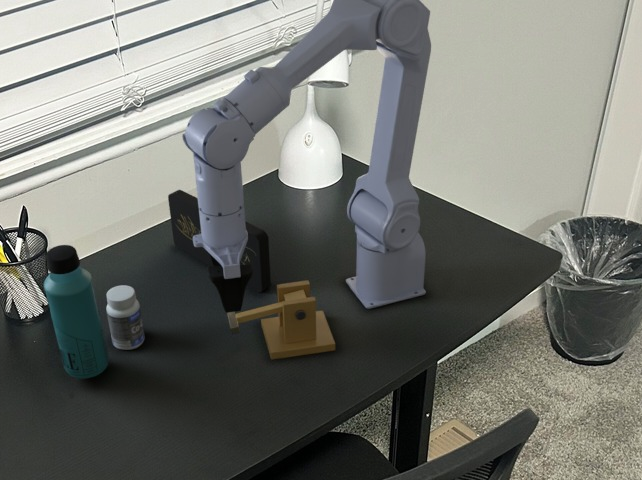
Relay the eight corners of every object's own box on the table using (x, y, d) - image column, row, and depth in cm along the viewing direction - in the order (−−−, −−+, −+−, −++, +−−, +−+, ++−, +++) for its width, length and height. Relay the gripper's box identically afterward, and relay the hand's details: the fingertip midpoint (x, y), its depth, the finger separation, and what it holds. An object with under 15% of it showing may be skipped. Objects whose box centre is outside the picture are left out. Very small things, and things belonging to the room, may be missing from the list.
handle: (233, 338, 125) (229, 324, 123) (228, 317, 129) (224, 303, 127) (311, 318, 124) (308, 304, 123) (304, 297, 128) (301, 283, 126)
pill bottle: (140, 351, 130) (132, 303, 125) (108, 350, 131) (99, 302, 125) (148, 331, 133) (141, 283, 128) (117, 330, 134) (108, 282, 129)
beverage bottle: (118, 361, 128) (95, 239, 116) (99, 392, 124) (73, 267, 111) (77, 355, 130) (49, 234, 118) (56, 385, 126) (25, 262, 113)
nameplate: (271, 289, 139) (268, 232, 133) (262, 294, 138) (258, 237, 132) (183, 241, 152) (176, 187, 146) (174, 246, 151) (167, 192, 145)
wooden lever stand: (271, 359, 126) (268, 314, 121) (261, 325, 132) (258, 280, 127) (335, 350, 126) (335, 304, 121) (322, 316, 132) (322, 271, 128)
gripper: (184, 182, 120) (194, 269, 129) (195, 238, 109) (205, 329, 117) (237, 175, 121) (243, 262, 129) (254, 230, 109) (260, 322, 118)
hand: (229, 294), depth 123 cm, fingers open, 7 cm apart
